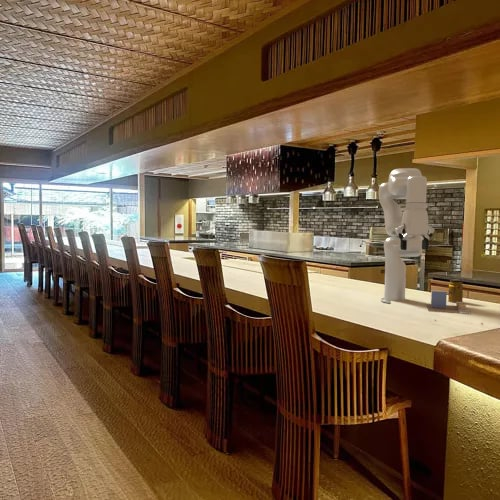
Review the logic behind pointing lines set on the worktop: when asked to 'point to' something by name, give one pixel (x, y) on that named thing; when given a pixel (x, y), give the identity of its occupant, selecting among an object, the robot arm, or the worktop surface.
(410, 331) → the worktop surface
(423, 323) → the worktop surface
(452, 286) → the condiment
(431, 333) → the worktop surface
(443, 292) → the tile
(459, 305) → the turner
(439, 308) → the board
